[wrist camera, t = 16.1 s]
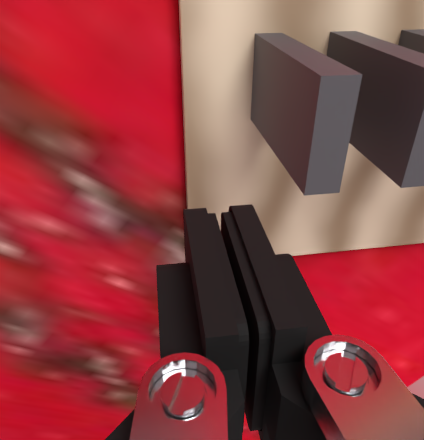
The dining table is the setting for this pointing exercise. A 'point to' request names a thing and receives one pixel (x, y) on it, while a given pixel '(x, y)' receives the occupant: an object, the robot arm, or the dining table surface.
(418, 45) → the domino
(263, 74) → the domino
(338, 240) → the board
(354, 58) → the domino
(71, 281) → the dining table surface
